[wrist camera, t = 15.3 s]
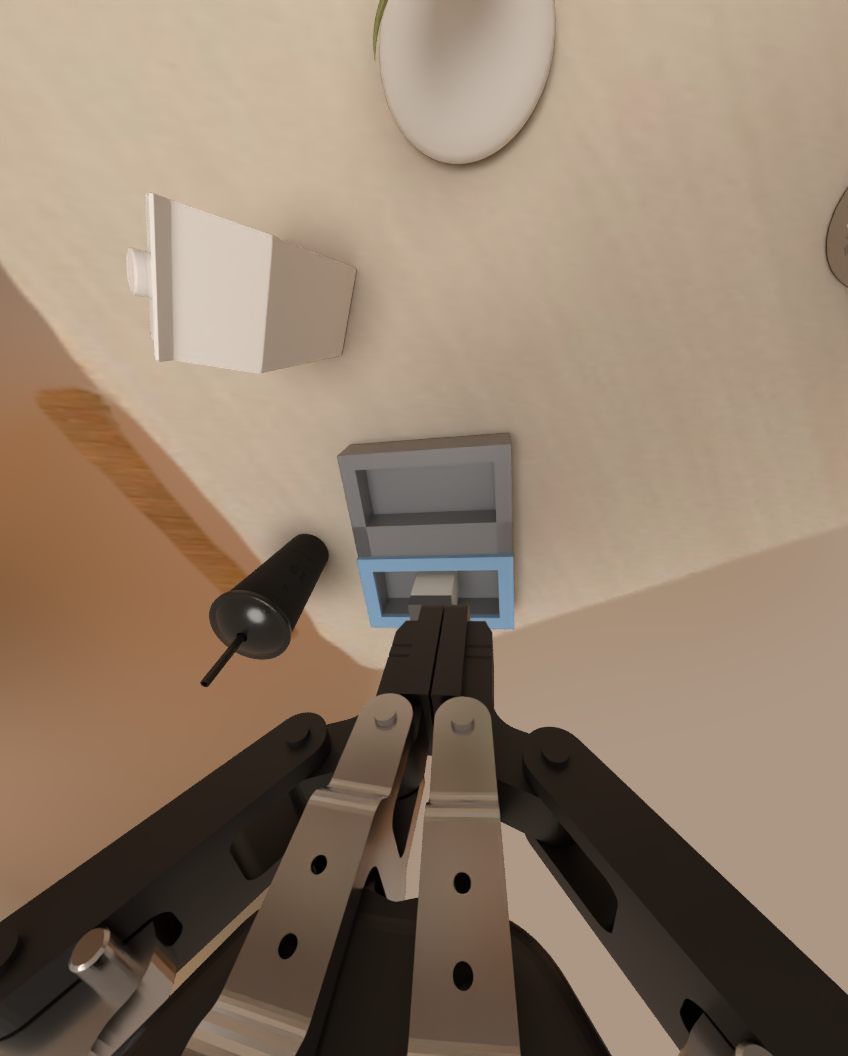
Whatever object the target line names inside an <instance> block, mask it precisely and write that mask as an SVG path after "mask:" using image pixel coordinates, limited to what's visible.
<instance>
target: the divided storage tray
mask: <svg viewBox="0 0 848 1056" xmlns="http://www.w3.org/2000/svg"><path fill="white" fill-rule="evenodd" d="M337 459H338V464H339V468H340V473H341V478H342V483H343V487H344V492H345V497H346V501H347V506H348V511H349V516H350V520H351V525H352V530H353V535H354V539H355V544H356V549H357V553H358V558H357V564H358V569H359V574H360V578H361V583H362V588H363V592H364V597H365V601H366V606H367V611H368V615H369V620H370V625H371V627H375V628H400V627H401V625H402V624H403V623H404V622H405V621H406V620H410V616H409V610H408V602H409V599H410V596H411V592H412V589H413V586H414V582H415V579H416V575H417V572H418V571H457V573H458V585H459V593H458V602H457V605H469V609H470V621H486V623H487V625H488V626H489V628H490V629H514V577H513V531H512V471H511V441H510V434H509V433H501V434H487V435H474V436H460V437H447V438H433V439H420V440H406V441H393V442H379V443H366V444H353V445H349V446H348V447H347V448H346V449H345V450H343V451H342V452H341V453H340V454H339V455H338V456H337Z"/></svg>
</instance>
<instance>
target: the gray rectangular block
mask: <svg viewBox="0 0 848 1056" xmlns="http://www.w3.org/2000/svg"><path fill="white" fill-rule="evenodd" d="M458 593H459V585H458V573H457V571H418V572H417V575H416V579H415V582H414V586H413V589H412V592H411V596H410V599H409V602H408V610H409V616H410V620H414V621H418V617H419V613H420V609H421V606H422V605H445V606H446V605H457V602H458Z"/></svg>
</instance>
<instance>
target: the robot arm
mask: <svg viewBox="0 0 848 1056" xmlns="http://www.w3.org/2000/svg"><path fill="white" fill-rule="evenodd" d="M827 257H828V260H829V264H830V267H831V270H832V271H833V273H834V274H835V275H836V277H837V278H838V280H840V281H841V282H842V283H844V284H845V285H846V286H848V189H847V191H846V192H845V194H844V195H843V197H842V199H841V201H840V203H839V204H838V206H837V208H836V210H835V213H834V216H833V218H832V221H831V224H830V227H829V232H828V238H827ZM493 662H494V661H493V640H492V631H491V630H490V628H489V626H488V625H487V623H486V621H470V609H469V605H446V606H445V605H422V606H421V609H420V613H419V617H418V621H414V620H406V621H405V622H404V623H403V624H402V625H401V627H400V628H399V629H398V630H397V631H396V634H395V637H394V640H393V643H392V647H391V650H390V653H389V657H388V660H387V663H386V666H385V669H384V672H383V676H382V679H381V682H380V685H379V689H378V692H377V695H376V697H374V698H373V699H371V700H370V701H368V702H367V703H366V704H365V706H364V707H363V708H362V710H361V711H360V714H359V715H358V716H356V717H354V718H351V719H348V720H344V721H340V722H336V723H332V724H328V725H326V723H325V721H324V719H323V718H322V717H321V716H320V715H317V714H315V713H300V714H297V715H294V716H292V717H290V718H289V719H287V720H286V721H284V722H283V723H281V724H280V725H278V726H277V727H276V728H274V729H273V730H271V731H270V732H269V733H267V734H266V735H264V736H263V737H261V738H260V739H259V740H257V741H256V742H254V743H253V744H252V745H250V746H249V747H247V748H246V749H244V750H243V751H242V752H240V753H239V754H237V755H236V756H234V757H233V758H232V759H230V760H229V761H227V762H226V763H225V764H223V765H222V766H220V767H219V768H218V769H216V770H215V771H213V772H212V773H210V774H209V775H208V776H206V777H205V778H203V779H202V780H201V781H199V782H198V783H196V784H195V785H193V786H192V787H191V788H189V789H188V790H186V791H185V792H184V793H182V794H181V795H179V796H178V797H176V798H175V799H174V800H172V801H171V802H169V803H168V804H167V805H165V806H164V807H162V808H161V809H160V810H158V811H157V812H155V813H154V814H153V815H151V816H150V817H148V818H147V819H145V820H144V821H143V822H141V823H140V824H138V825H137V826H135V827H134V828H133V829H131V830H130V831H128V832H127V833H126V834H124V835H123V836H121V837H120V838H119V839H117V840H116V841H114V842H113V843H111V844H110V845H109V846H107V847H106V848H104V849H103V850H102V851H100V852H99V853H97V854H96V855H94V856H93V857H92V858H90V859H89V860H87V861H86V862H85V863H83V864H82V865H80V866H79V867H77V868H76V869H75V870H74V871H72V872H71V873H69V874H68V875H66V876H65V877H64V878H62V879H60V880H59V881H58V882H56V883H55V884H53V885H52V886H51V887H49V888H48V889H46V890H45V891H43V892H42V893H41V894H39V895H38V896H36V897H35V898H34V899H32V900H31V901H29V902H28V903H27V904H25V905H24V906H22V907H21V908H19V909H18V910H17V911H15V912H14V913H12V914H11V915H10V916H8V917H7V918H6V919H4V920H2V921H1V922H0V1056H611V1054H610V1052H609V1051H608V1049H607V1047H606V1045H605V1044H604V1042H603V1040H602V1039H601V1037H600V1035H599V1033H598V1032H597V1030H596V1029H595V1027H594V1025H593V1023H592V1022H591V1020H590V1018H589V1016H588V1015H587V1013H586V1012H585V1010H584V1008H583V1006H582V1005H581V1003H580V1001H579V1000H578V998H577V996H576V994H575V993H574V991H573V989H572V988H571V986H570V984H569V983H568V981H567V979H566V978H565V976H564V975H563V973H562V971H561V970H560V968H559V967H558V966H557V964H556V963H555V962H554V960H553V959H552V958H551V956H550V955H549V954H548V953H547V951H546V950H545V949H544V948H543V947H542V946H541V945H540V944H539V943H538V942H537V940H535V939H534V938H533V937H532V936H531V935H529V933H527V932H526V931H525V930H524V929H522V928H521V927H519V926H518V925H516V924H515V923H513V922H512V921H510V920H509V914H508V902H507V891H506V879H505V868H504V856H503V844H502V833H501V822H503V823H505V824H507V825H509V826H511V827H513V828H515V829H517V830H519V831H521V832H523V833H525V835H526V837H527V839H528V841H529V843H530V845H531V846H532V847H533V849H534V850H535V851H536V853H537V854H538V855H539V857H540V858H541V860H542V861H543V862H544V864H545V865H546V867H547V868H548V869H549V871H550V872H551V874H552V875H553V876H554V878H555V879H556V880H557V882H558V883H559V885H560V886H561V887H562V889H563V890H564V891H565V893H566V894H567V896H568V897H569V898H570V900H571V901H572V902H573V904H574V905H575V907H576V908H577V909H578V911H579V912H580V913H581V915H582V916H583V917H584V919H585V920H586V922H587V923H588V925H589V926H590V927H591V929H592V930H593V931H594V933H595V934H596V936H597V937H598V938H599V940H600V941H601V942H602V944H603V945H604V946H605V948H606V949H607V951H608V952H609V953H610V955H611V956H612V958H613V959H614V960H615V962H616V963H617V964H618V966H619V967H620V969H621V970H622V971H623V973H624V974H625V976H626V977H627V978H628V980H629V981H630V982H631V984H632V985H633V986H634V988H635V989H636V991H637V992H638V993H639V995H640V996H641V997H642V999H643V1000H644V1002H645V1003H646V1004H647V1006H648V1007H649V1009H650V1010H651V1011H652V1013H653V1014H654V1015H655V1017H656V1018H657V1019H658V1021H659V1022H660V1024H661V1025H662V1027H663V1028H664V1029H665V1031H666V1032H667V1033H668V1035H669V1036H670V1037H671V1039H672V1040H673V1042H674V1043H675V1044H676V1046H677V1047H678V1048H679V1050H680V1053H679V1055H678V1056H848V995H847V994H846V993H845V992H844V991H843V990H842V989H841V988H840V987H839V986H838V985H837V984H836V983H835V982H834V981H833V980H832V979H831V978H830V977H828V976H827V975H826V974H825V973H824V972H823V971H822V970H821V969H820V968H819V967H818V966H817V965H816V964H815V963H814V962H813V961H812V960H811V959H809V958H808V957H807V956H806V955H805V954H804V953H803V952H802V951H801V950H800V949H799V948H798V947H797V946H796V945H795V944H794V943H793V942H792V941H791V940H789V939H788V938H787V937H786V936H785V935H784V934H783V933H782V932H781V931H780V930H779V929H778V928H777V927H776V926H775V925H774V924H773V923H772V922H771V921H769V920H768V919H767V918H766V917H765V916H764V915H763V914H762V913H761V912H760V911H759V910H758V909H757V908H756V907H755V906H754V905H752V904H751V903H750V902H749V901H748V900H747V899H746V898H745V897H744V896H743V895H742V894H741V893H740V892H739V891H738V890H737V889H736V888H735V887H733V886H732V884H730V883H729V882H728V881H727V880H726V879H725V878H724V877H723V876H722V875H721V874H720V873H719V872H718V871H717V870H716V869H715V868H714V867H713V866H711V865H710V864H709V863H708V862H707V861H706V860H705V859H704V858H703V857H702V856H701V855H700V854H699V853H698V852H697V851H696V850H694V848H693V847H691V846H690V845H689V844H688V843H687V842H686V841H685V840H684V839H683V838H682V837H681V836H680V835H679V834H678V833H677V832H676V831H675V830H674V829H672V828H671V827H670V826H669V825H668V824H667V823H666V822H665V821H664V820H663V819H662V818H661V817H660V816H659V815H658V814H657V813H655V812H654V810H652V809H651V808H650V807H649V806H648V805H647V804H646V803H645V802H644V801H643V800H642V799H641V798H640V797H639V796H638V795H637V794H636V793H635V792H633V791H632V790H631V789H630V788H629V787H628V786H627V785H626V784H625V783H624V782H623V781H622V780H621V779H620V778H619V777H617V775H616V774H615V773H613V772H612V771H611V770H610V769H609V768H608V767H607V766H606V765H605V764H604V763H603V762H602V761H601V760H600V759H599V758H598V757H597V756H596V755H595V754H593V753H592V752H591V751H590V750H589V749H588V748H587V747H586V746H585V745H584V744H583V743H582V742H581V741H580V740H579V739H578V738H576V737H575V736H574V735H573V734H571V733H569V732H568V731H565V730H563V729H560V728H556V727H543V728H539V729H536V730H534V731H533V732H531V733H530V734H528V733H526V732H523V731H520V730H518V729H515V728H513V727H510V726H509V725H508V724H506V723H505V722H503V721H502V720H501V719H500V718H499V716H498V715H497V714H496V712H495V710H494V663H493ZM427 755H430V756H432V765H431V766H432V767H431V783H430V797H429V802H427V803H426V806H425V813H424V824H423V839H422V853H421V868H420V882H419V897H418V898H414V899H409V900H405V893H406V871H407V864H408V859H409V854H410V849H411V845H412V840H413V836H414V831H415V827H416V822H417V817H418V813H419V809H420V804H421V799H422V795H423V790H424V785H425V778H424V773H425V767H426V760H427ZM269 885H270V887H269V889H268V891H267V894H266V896H265V898H264V900H263V903H262V905H261V907H260V909H259V910H257V911H256V912H255V913H254V914H252V915H251V916H250V917H249V918H248V919H246V920H245V921H244V922H243V923H242V924H241V925H240V926H239V927H238V928H237V929H236V930H235V931H234V932H233V933H232V934H231V935H230V936H229V937H228V938H227V939H226V940H225V941H224V942H223V943H222V944H221V945H220V946H219V947H218V948H217V949H216V950H215V951H214V952H213V953H212V954H211V955H210V956H209V957H208V958H207V959H206V960H205V961H204V962H203V963H202V964H201V965H200V966H199V967H198V968H197V969H196V970H195V972H194V973H192V974H191V975H190V976H189V978H188V979H187V980H185V981H184V983H182V985H181V986H180V987H179V988H178V989H177V990H176V991H175V992H174V993H173V994H172V995H171V996H170V992H171V990H172V987H173V984H174V980H175V977H176V973H177V972H178V971H179V970H180V969H181V968H182V967H183V966H185V964H187V962H189V961H190V960H191V959H192V958H193V957H194V956H195V955H196V954H197V953H198V952H199V951H200V950H201V949H203V948H204V947H205V946H206V945H207V944H208V943H209V942H210V941H211V940H212V939H213V938H214V937H215V936H216V935H217V934H219V933H220V932H221V931H222V930H223V929H224V928H225V927H226V926H227V925H228V924H229V923H230V922H231V921H232V920H233V919H234V918H236V917H237V916H238V915H239V914H240V913H241V912H242V911H243V910H244V909H245V908H246V907H247V906H248V905H249V904H250V903H251V902H253V901H254V900H255V899H256V898H257V897H258V896H259V895H260V894H261V893H262V892H263V891H264V890H265V889H266V888H267V887H268V886H269Z"/></svg>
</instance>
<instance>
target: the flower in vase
mask: <svg viewBox="0 0 848 1056" xmlns="http://www.w3.org/2000/svg"><path fill="white" fill-rule="evenodd" d="M382 16H383V17H382ZM381 19H382V24H381V30H380V43H379V62H380V72H381V79H382V84H383V89H384V93H385V97H386V100H387V103H388V106H389V109H390V111H391V113H392V116H393V118H394V120H395V121H396V123H397V125H398V127H399V128H400V130H401V131H402V133H403V134H404V135H405V137H406V138H407V139H408V140H409V141H410V142H411V143H412V144H413V145H414V147H416V148H417V149H418V150H419V151H421V152H422V153H423V154H425V155H427V156H429V157H431V158H432V159H435V160H438V161H441V162H444V163H450V164H466V163H471V162H475V161H478V160H481V159H484V158H486V157H488V156H490V155H492V154H494V153H495V152H497V151H498V150H499V149H501V148H502V147H504V146H505V145H506V144H507V143H508V142H509V141H510V140H511V139H512V138H514V137H515V135H516V134H517V133H518V132H519V131H520V129H521V128H522V127H523V126H524V124H525V123H526V121H527V120H528V119H529V117H530V116H531V114H532V112H533V110H534V109H535V107H536V105H537V103H538V101H539V99H540V96H541V94H542V92H543V89H544V87H545V84H546V81H547V77H548V74H549V71H550V67H551V62H552V58H553V52H554V44H555V30H556V16H555V2H554V0H380V2H379V5H378V9H377V13H376V18H375V24H374V36H373V46H374V58H375V54H376V42H377V35H378V30H379V26H380V22H381Z"/></svg>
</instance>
